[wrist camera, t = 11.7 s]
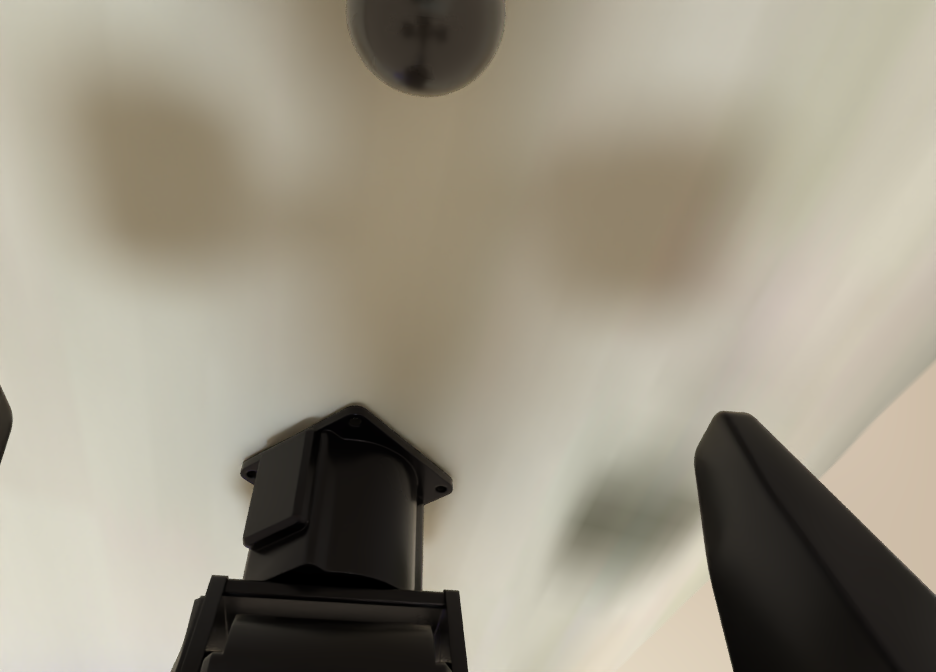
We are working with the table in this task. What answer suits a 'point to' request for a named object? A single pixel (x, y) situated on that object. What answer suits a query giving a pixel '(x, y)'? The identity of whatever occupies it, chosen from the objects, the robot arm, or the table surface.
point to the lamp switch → (426, 41)
